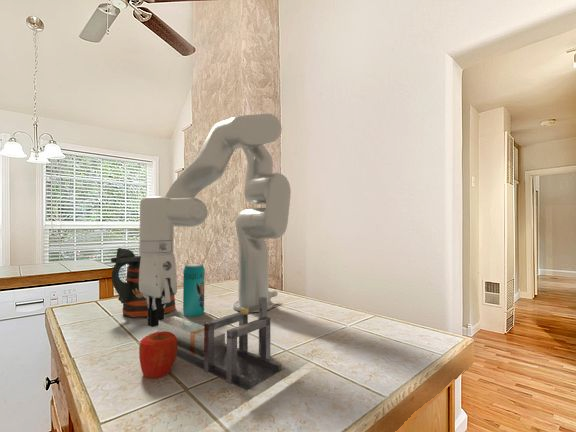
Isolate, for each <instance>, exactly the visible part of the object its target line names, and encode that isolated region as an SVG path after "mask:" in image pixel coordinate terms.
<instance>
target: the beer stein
mask: <svg viewBox="0 0 576 432" xmlns="http://www.w3.org/2000/svg"><path fill="white" fill-rule="evenodd" d="M116 250H117V251H116V257H111V259H110V262H111V263H114V266H113V267H112V268H113V269H112V270H111V271H112V272H111V282H112V286H113V287H114V289H115V291H116V293H117V294H118V296H119V297H118V298H117V299H118V301H119V302H120V303H121V304H122V314H123V316H126V317H128V318H135V319H136V318H137V319H138V318H148V309H150V308H147V300H146V298H145V297H143V294H142V293H141V292H140V291H139V268H140V259H141V255H135V254H134V252H133V251H132V250H130V249H127V248H122V247H118V248H117V249H116ZM125 265H128V266H127V268H126V275H125V282H124V281H122V280H121V278H120V276H119V273H120V270H121V269H122V267H124V266H125ZM161 295H162V294H161ZM175 296H176V295H170V299H171V301H170V302H169V303H166V305H165V308H164V315H166V314H170V313H172V312H174V311H175V309H176V298H175Z"/></svg>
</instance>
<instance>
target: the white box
mask: <svg viewBox="0 0 576 432" xmlns="http://www.w3.org/2000/svg"><path fill="white" fill-rule="evenodd" d="M157 332H171V333H173V334H174V335H175V336H176V338H177V346H180V347H182V348H184V349H186V350H188V351H191V352H193V353H195V354H197V355H200V356H202V357H204V325H202V324H199V323H196V322H193V321H190V320H187V319H185V318H181V317H178V316H176V315H175V316H170V317H166V318H164V319H162V320H159V325H158V331H157ZM225 343H226V333H225V332H222V331H221V330H220V331H219V330H217V329H214V358H216V357H219V356H221V355H223V354H225Z"/></svg>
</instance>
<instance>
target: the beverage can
mask: <svg viewBox="0 0 576 432" xmlns="http://www.w3.org/2000/svg"><path fill="white" fill-rule="evenodd" d="M182 278H183V279H182V280H183V282H182V284H183V288H182V289H183V290H182V291H183V293H182V294H183V295H182V296H183V297H182V299H183V300H182V312H183V315H184V316H185V317H193V318H194V317H199V316H202V315H203V314H204V312H205V267H204V263H197V262H195V263H187V264H186V263H185V264H184V269H183V277H182Z"/></svg>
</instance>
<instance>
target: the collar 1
mask: <svg viewBox="0 0 576 432" xmlns="http://www.w3.org/2000/svg"><path fill="white" fill-rule="evenodd" d="M237 322H238V326H241V325H244V324H246V323H249V314H246V315H243V314H241V311H238V312H236V313H233V314H229V315H226V316H222V317H219V318H216V319H212V320H210V321H207V322H204V324H203V326H204V369H203V371H205V372H206V373H210V371H212V366H213V364H214V330H217V329H220V328H223V327H225V326H228V325H231V324H235V323H237ZM248 334H249V333H247V334H245V335H242V336H240V337H238V348H239V350H242V351H244V350H245V351H247V352H249V351H248V350H249V349H248V348H249V347H248V346H249V345H248V344H249V342H248V341H249V335H248Z"/></svg>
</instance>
